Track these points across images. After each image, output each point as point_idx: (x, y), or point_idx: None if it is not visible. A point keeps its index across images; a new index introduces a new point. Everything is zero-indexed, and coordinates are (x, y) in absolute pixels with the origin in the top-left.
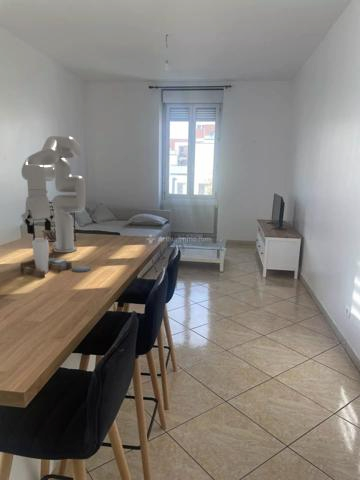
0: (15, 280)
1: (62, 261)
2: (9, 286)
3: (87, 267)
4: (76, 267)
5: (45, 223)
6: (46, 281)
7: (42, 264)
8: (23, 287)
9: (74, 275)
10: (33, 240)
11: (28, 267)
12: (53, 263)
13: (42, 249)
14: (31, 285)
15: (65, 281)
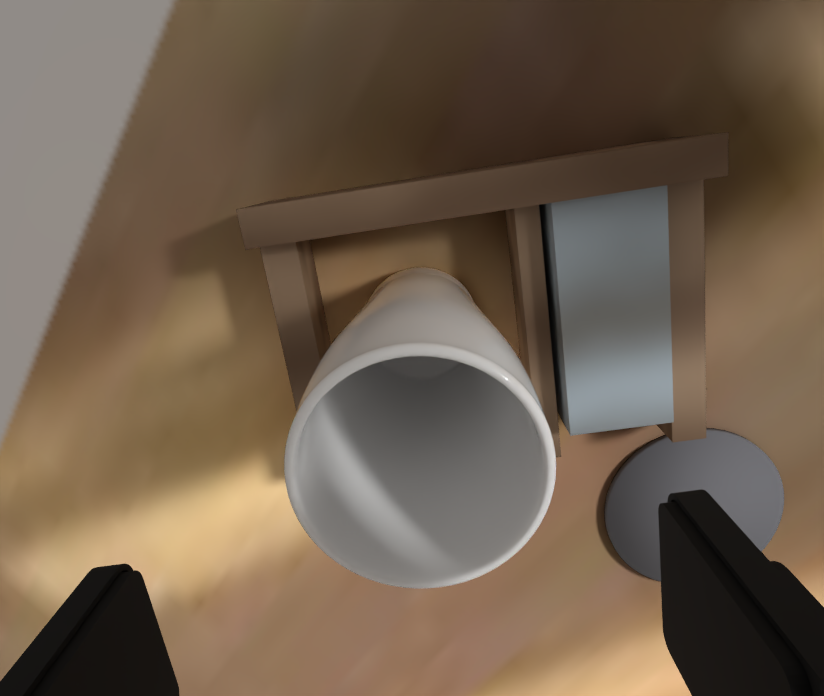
0: (139, 340)
1: (615, 429)
2: (45, 433)
3: (749, 528)
4: (696, 457)
5: (757, 670)
6: (302, 539)
7: (389, 404)
8: (114, 525)
9: (533, 582)
10: (338, 382)
11: (299, 278)
12: (557, 346)
13: (379, 510)
14: (177, 531)
15: (395, 634)
